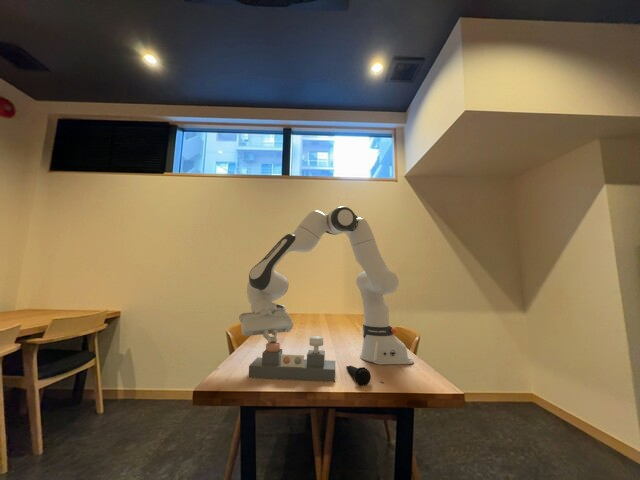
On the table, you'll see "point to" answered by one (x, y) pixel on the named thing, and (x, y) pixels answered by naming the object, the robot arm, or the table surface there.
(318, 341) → the grey button
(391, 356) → the robot arm
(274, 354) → the button console
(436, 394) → the table surface
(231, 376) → the table surface
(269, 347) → the terracotta button
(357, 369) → the microphone
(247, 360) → the table surface
